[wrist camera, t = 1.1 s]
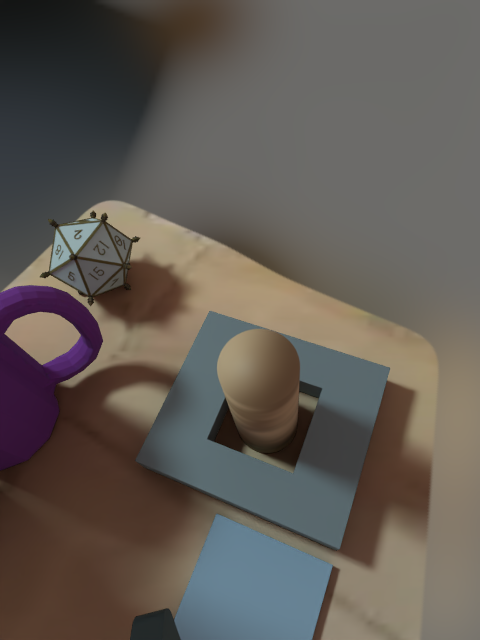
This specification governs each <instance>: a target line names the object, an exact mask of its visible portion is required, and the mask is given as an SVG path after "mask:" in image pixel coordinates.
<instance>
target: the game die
mask: <svg viewBox="0 0 480 640" xmlns="http://www.w3.org/2000/svg"><path fill="white" fill-rule="evenodd" d="M90 214H91V215H90V216H91V218H89V219H84V220H79V221H74V222H69V223H65V224H60V225H58V224H57V223H56V222H55V221H54V220H51V219H48V221H49V223H50V224H51V225H52V226H54V227H55V232H54V239H53V246H52V253H51V260H50V266H49V272H45V273H42V274H41V276H40V277H42V278H46V277H48V276H49V275H51V276H53V277H55V278H57V279H58V280H60V281H62V282H64V283H65V284H67V285H69V286H71V287H72V288H74V289H76V290H78V293H79V294H80V295H81V294H84V295H86V296H88V297H89V299H88V303H89V305H90V306H91V305H92V304H93V303H94V302H93V300H94V299H93V297H94V296H97V295H99V294H102V293H105V292H107V291H110V290H112V289H115V288H118V287H120V286H124V288H126V290H131V288H130V285H129V284H126V278H127V272H128V270H129V269H130V268H132V267H131V266H130V263H129V260H130V255H131V249H132V243H133V242H138V240H139V239H140V237H136V236H135V237H133V239H130V238H128V237H127V236H126V235H124V234H123V233H121V232H120V231H118V230H117V229H116V228H114V227H113V226H111V225H110V224H108V223H107V222H106V220H107V218H108V217H107V214H106V213H104V214H102V217H101V219H102V220H100V219H96V218H95V217H96V213H95V212H94V210H93V211H92V213H90Z"/></svg>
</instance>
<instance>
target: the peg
mask: <svg viewBox="0 0 480 640" xmlns="http://www.w3.org/2000/svg"><path fill="white" fill-rule="evenodd" d="M217 374H218V378H219V381H220V384H221V387H222V389H223V392H224V395H225V398H226V400H227V403H228V406H229V408H230V411H231V414H232V416H233V419H234V422H235V424H236V427H237V430H238V433H239V435H240V437H241V439H242V440H243V442H244V443H245V444H246V445H247V446H248V447H250V448H251V449H253V450H255V451H258V452H262V453H273V452H277V451H280V450H281V449H283V448H285V447H286V446H287V445H288V444H289V443H290V442H291V441H292V439H293V438H294V436H295V434H296V430H297V421H298V400H299V380H300V360H299V356H298V353H297V351H296V349H295V347H294V346H293V345H292V343H291V342H290V341H289V340H288V339H287V338H285V337H284V336H283V335H281V334H279V333H277V332H274V331H271V330H267V329H252V330H247V331H244V332H242V333H240V334H238V335H236V336H234V337H233V338H232V339H231V340H229V341H228V342H227V344H226V345H225V346H224V347H223V349H222V351H221V353H220V355H219V358H218V362H217Z"/></svg>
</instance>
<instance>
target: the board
mask: <svg viewBox="0 0 480 640" xmlns="http://www.w3.org/2000/svg"><path fill="white" fill-rule="evenodd" d="M252 329H266V328H263V327H259V326H256V325H253V324H250V323H247V322H244V321H241V320H237V319H234V318H231V317H228V316H225V315H222V314H218V313H215V312H212V311H209V313H208V315H207V317H206V319H205V321H204V323H203V325H202V327H201V329H200V331H199V333H198V335H197V337H196V339H195V341H194V343H193V345H192V347H191V349H190V351H189V353H188V355H187V357H186V359H185V361H184V363H183V365H182V367H181V369H180V371H179V373H178V375H177V377H176V379H175V381H174V383H173V385H172V387H171V389H170V391H169V393H168V395H167V398H166V400H165V402H164V404H163V406H162V408H161V410H160V412H159V414H158V416H157V418H156V420H155V422H154V424H153V426H152V428H151V430H150V432H149V434H148V436H147V438H146V440H145V442H144V444H143V446H142V448H141V450H140V452H139V454H138V456H137V458H136V460H135V461H136V462H138V463H139V464H140V465H142V466H143V467H145V468H147V469H149V470H152V471H154V472H156V473H159V474H161V475H163V476H165V477H168V478H170V479H172V480H175V481H177V482H179V483H182V484H184V485H186V486H189V487H191V488H193V489H195V490H198V491H200V492H202V493H205V494H207V495H209V496H212V497H214V498H216V499H218V500H221V501H223V502H225V503H228V504H230V505H232V506H235V507H237V508H239V509H242V510H244V511H246V512H248V513H251V514H253V515H255V516H258V517H260V518H262V519H265V520H267V521H269V522H271V523H274V524H276V525H278V526H281V527H283V528H285V529H288V530H290V531H292V532H295V533H297V534H299V535H301V536H304V537H306V538H308V539H311V540H313V541H315V542H318V543H320V544H322V545H324V546H327V547H329V548H331V549H334V550H336V551H337V550H339V549H340V546H341V542H342V539H343V535H344V532H345V528H346V525H347V521H348V517H349V514H350V510H351V507H352V503H353V500H354V496H355V492H356V489H357V485H358V482H359V478H360V475H361V471H362V467H363V464H364V460H365V457H366V453H367V449H368V446H369V442H370V439H371V435H372V432H373V428H374V424H375V421H376V417H377V414H378V410H379V407H380V403H381V399H382V396H383V392H384V389H385V385H386V382H387V378H388V374H389V371H390V368H389V367H386V366H383V365H379V364H376V363H373V362H370V361H367V360H364V359H360V358H357V357H354V356H351V355H348V354H345V353H342V352H338V351H335V350H332V349H329V348H326V347H323V346H319V345H316V344H313V343H310V342H307V341H304V340H301V339H297V338H294V337H291V336H288V335H285V334H282V333H279V334H281V335H283V336H284V337H285V338H287V339H288V340H289V341H290V342H291V343H292V345H293V346H294V347H295V349H296V351H297V353H298V356H299V360H300V380H299V391H300V392H303V393H306V394H309V395H312V396H314V397H317V398H319V400H318V403H317V406H316V409H315V412H314V415H313V417H312V420H311V423H310V426H309V429H308V432H307V435H306V438H305V441H304V444H303V447H302V450H301V452H300V455H299V458H298V461H297V464H296V467H295V470H294V473H291V472H288V471H286V470H283V469H281V468H278V467H276V466H273V465H271V464H268V463H266V462H263V461H261V460H258V459H256V458H253V457H251V456H248V455H246V454H243V453H241V452H238V451H236V450H233V449H230V448H228V447H225V446H223V445H220V444H218V443H215V442H214V440H215V438H216V436H217V433H218V431H219V429H220V426H221V424H222V422H223V419H224V417H225V415H226V412H227V410H228V408H229V406H228V403H227V400H226V398H225V395H224V392H223V389H222V387H221V384H220V381H219V378H218V374H217V362H218V358H219V355H220V353H221V351H222V349H223V347H224V346H225V345H226V344H227V342H228V341H229V340H231V339H232V338H233V337H234V336H236V335H238V334H240V333H242V332H244V331H247V330H252ZM267 330H269V329H267ZM271 331H272V330H271ZM274 332H275V331H274ZM277 333H278V332H277Z"/></svg>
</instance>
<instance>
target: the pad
mask: <svg viewBox="0 0 480 640" xmlns="http://www.w3.org/2000/svg"><path fill="white" fill-rule="evenodd" d="M332 566H333V565H331V564H329V563H327V562H325V561H322V560H320V559H318V558H316V557H313V556H311V555H309V554H307V553H304V552H302V551H300V550H298V549H295V548H293V547H291V546H289V545H286V544H284V543H282V542H280V541H277V540H275V539H273V538H271V537H268V536H266V535H264V534H261V533H259V532H257V531H255V530H252V529H250V528H248V527H246V526H243V525H241V524H239V523H237V522H234V521H232V520H230V519H228V518H225V517H223V516H221V515H219V514H216V516H215V519H214V521H213V524H212V526H211V529H210V531H209V534H208V536H207V539H206V541H205V544H204V546H203V549H202V551H201V554H200V556H199V559H198V561H197V564H196V566H195V569H194V571H193V574H192V576H191V579H190V581H189V584H188V586H187V589H186V591H185V594H184V596H183V599H182V601H181V604H180V606H179V609H178V611H177V614H176V616H175V619H174V622H175V625H176V627H177V630H178V633H179V636H180V639H181V640H312V637H313V634H314V630H315V627H316V623H317V619H318V616H319V612H320V609H321V605H322V602H323V598H324V595H325V591H326V588H327V584H328V580H329V577H330V573H331V570H332Z"/></svg>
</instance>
